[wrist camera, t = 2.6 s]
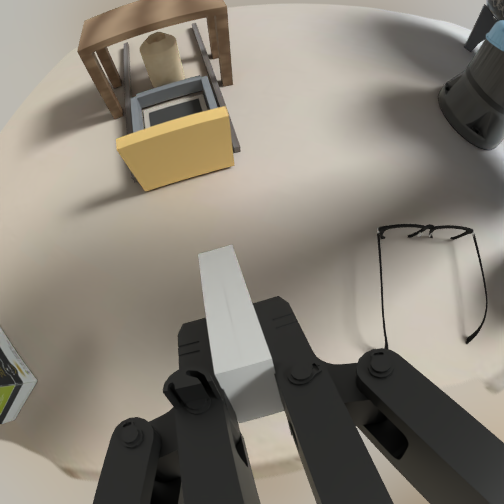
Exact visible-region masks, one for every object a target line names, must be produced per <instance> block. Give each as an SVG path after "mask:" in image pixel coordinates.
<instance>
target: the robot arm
mask: <svg viewBox="0 0 504 504" xmlns="http://www.w3.org/2000/svg"><path fill="white" fill-rule="evenodd" d="M439 104H440V107H441V109H442V111H443V113H444V115H445V117H446V118H447V120H448V121H449V122H450V124H451V125H452V126H453V127H454V129H455V130H456V131H457V132H458V133H459V134H460V135H461V136H463V137H464V138H465V139H466V140H468V141H469V142H470V143H472V144H474V145H475V146H477V147H479V148H482V149H486V150H491V149H494V148H496V147H497V146H498V145H499V144H500V143H501V142H502V140H503V139H504V20H500V21H497V22H496V23H495V24H494V26H493V27H492V29H491V30H490V32H488V33H487V34H486V39H485V41H484V42H483V44H482V45H481V47H480V48H479V50H478V52H477V53H476V55H475V56H474V58H473V59H472V61H471V62H470V64H469V65H468V67H467V69H466V70H465V71H464V72H462V73H461V74H459V75H458V76H456V77H455V78H453V79H452V80H450V81H448V82H447V83H446V84H445V85H444V86H443V88H442V90H441V91H440V93H439ZM198 257H199V266H200V274H201V283H202V291H203V298H204V306H205V313H206V318H203V319H200V320H196V321H192V322H188V323H185V324H183V325H182V327H181V329H180V331H179V334H178V347H179V348H178V354H179V370H177V371H176V372H174V373H173V374H172V375H171V376H169V378H168V379H167V381H166V382H165V384H164V388H163V393H164V394H165V396H166V397H167V398H168V400H169V401H170V402H171V404H172V405H173V406H174V407H173V408H172V409H171V410H170V411H169V412H167V413H166V414H164V415H162V416H160V417H158V418H156V419H154V420H152V421H150V422H147V421H146V420H145V419H142V418H138V417H135V418H129V419H126V420H124V421H122V422H121V423H120V424H119V425H118V426H117V427H116V428H115V430H114V432H113V434H112V437H111V440H110V444H109V447H108V450H107V454H106V457H105V460H104V464H103V468H102V471H101V475H100V478H99V482H98V486H97V490H96V493H95V497H94V501H93V504H260V500H259V496H258V493H257V489H256V485H255V481H254V478H253V474H252V470H251V466H250V462H249V458H248V454H247V450H246V446H245V442H244V438H243V436H242V434H241V432H240V430H239V425H238V422H239V423H242V422H246V421H250V420H254V419H257V418H261V417H265V416H268V415H271V414H275V413H278V412H282V411H285V413H286V416H287V420H288V423H289V427H290V431H291V435H292V436H293V438H294V441H295V444H296V447H297V450H298V453H299V455H300V458H301V461H302V464H303V467H304V470H305V472H306V475H307V478H308V481H309V483H310V486H311V489H312V492H313V495H314V497H315V500H316V503H317V504H393V502H392V499H391V498H390V495H389V493H388V491H387V489H386V487H385V485H384V483H383V481H382V479H381V477H380V475H379V473H378V471H377V469H376V467H375V465H374V463H373V461H372V458H371V456H370V455H369V453H368V450H367V448H366V446H365V444H364V442H363V440H362V438H361V436H360V434H359V432H358V430H357V428H356V426H357V427H358V428H359V429H360V430H361V431H362V432H363V434H364V435H365V436H366V437H367V438H368V439H369V440H370V441H371V442H372V443H373V444H374V445H375V447H376V448H377V449H378V450H379V451H380V452H381V453H382V454H383V455H384V456H385V457H386V458H387V459H388V460H389V461H390V463H391V464H392V465H393V466H394V467H395V468H396V469H397V470H398V471H399V472H400V473H401V474H402V475H403V476H404V477H405V478H406V479H407V480H408V481H409V482H410V483H411V484H412V485H413V487H414V488H416V490H417V491H418V492H419V493H420V494H421V495H422V496H423V497H424V498H425V499H426V500H427V501H428V502H429V503H430V504H504V443H503V442H502V441H501V440H499V439H498V438H497V437H496V436H495V435H494V434H492V433H491V432H490V431H489V430H488V429H486V427H484V426H483V425H482V424H481V423H480V422H478V421H477V420H476V419H475V418H474V417H473V416H471V415H470V414H469V413H468V412H467V411H466V410H464V409H463V408H462V407H461V406H460V405H458V404H457V403H456V402H455V401H454V400H452V399H451V398H450V397H449V396H448V395H446V394H445V393H444V392H443V391H442V390H441V389H439V388H438V387H437V386H436V385H435V384H433V383H432V382H431V381H430V380H429V379H427V378H426V377H425V376H424V375H423V374H421V373H420V372H419V371H418V370H417V369H415V368H414V367H413V366H412V365H411V364H409V363H408V362H407V361H406V360H405V359H403V358H402V357H401V356H400V355H399V354H397V353H395V352H393V351H392V350H388V349H383V348H381V349H373V350H371V351H369V352H366V353H365V354H364V355H363V356H362V357H361V358H360V359H359V361H358V363H351V364H330V363H326V362H324V361H322V360H320V359H319V358H318V357H316V355H315V354H314V352H313V351H312V349H311V347H310V345H309V343H308V341H307V339H306V337H305V335H304V333H303V331H302V329H301V327H300V325H299V323H298V321H297V319H296V317H295V315H294V313H293V311H292V309H291V307H290V305H289V303H288V302H286V301H285V300H284V299H282V298H281V297H279V296H277V297H274V298H270V299H267V300H264V301H260V302H257V303H253V304H252V301H251V298H250V295H249V292H248V289H247V286H246V283H245V280H244V277H243V275H242V272H241V269H240V266H239V263H238V260H237V257H236V254H235V251H234V248H233V245H228V246H225V247H221V248H218V249H214V250H211V251H207V252H204V253H200V254H198ZM237 420H238V421H237Z"/></svg>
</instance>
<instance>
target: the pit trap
mask: <svg viewBox="0 0 504 504" xmlns="http://www.w3.org/2000/svg"><path fill="white" fill-rule="evenodd" d="M207 110H208V109H207V106H206V103H205V99H204V96H203V94H200V95H196V96H193V97H189V98H185V99H182V100H178V101H175V102H171V103H168V104H165V105H161V106H158V107H155V108H152V109H149V110H146V111H143V113H144V121H145V129H146V128H149V127H152V126H155V125H158V124H161V123H165V122H168V121H171V120H174V119H178V118H181V117H185V116H188V115H192V114H196V113H199V112H203V111H207Z"/></svg>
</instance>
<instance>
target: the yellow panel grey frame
mask: <svg viewBox="0 0 504 504" xmlns="http://www.w3.org/2000/svg"><path fill="white" fill-rule="evenodd" d="M202 90H203V91H204V94H205V98H206V101H207V104H208V107H209V110H207V111H203V112H199V113H196V114H192V115H188V116H185V117H181V118H178V119H174V120H171V121H168V122H165V123H161V124H158V125H155V126H152V127H149V128H146V129H144V128H143V119H142V110H141V108H144V107H147V106H150V105H153V104H157V103H160V102H163V101H166V100H170V99H173V98H176V97H180V96H183V95H187V94H191V93H195V92H198V91H202ZM136 95H137V96H136V97H133V98H130V99H131V113H132V125H133V133H131V134H128V135H126V136H123V137H120V138H117V139H116V145H117V151H118V152H119V154H120V155H121V157H122V158H123V160H124V161H125V163H126V164H127V166H128V167H129V169H130V170H131V172H132V173H133V175H134V176H135V177H136V179H137V180H138V182H139V183H140V185H141V186H142V188H143V189H144V190H145V191H149V190H152V189H155V188H158V187H161V186H164V185H168V184H171V183H174V182H177V181H181V180H184V179H187V178H191V177H194V176H198V175H201V174H205V173H208V172H212V171H216V170H219V169H223V168H227V167H231V166H234V158H233V149H232V140H231V130H230V121H229V115H228V112H227V109H226V106H223V107H219V108H218V107H217V104H216V101H215V98H214V95H213V92H212V89H211V86H210V83H209V80H208V77H207V76H204V77H200V75H199V76H195V77H191V78H188V79H184V80H180V81H177V82H173V83H170V84H166V85H163V86H160V87H156V88H153V89H150V90H147V91H144V92H141V93H138V94H136Z"/></svg>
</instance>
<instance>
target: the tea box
mask: <svg viewBox="0 0 504 504" xmlns="http://www.w3.org/2000/svg"><path fill="white" fill-rule="evenodd" d="M36 383H37V380H36V378H35V377H34V376H33V374H32V373H31V372H30V370H29V369H28V368H27V366H26V365H25V364H24V362H23V361H22V359H21V358H20V356H19V355H18V353H17V352H16V351H15V349H14V348H13V346H12V344H11V343H10V341H9V340H8V338H7V337H6V335H5V334H4V332H3V330H2V329H1V327H0V424H3V423H7V422H10V421H13V420H15V418H16V417H17V415H18V413H19V411H20V410H21V408H22V406H23V405H24V403H25V401H26V400H27V398H28V396H29V395H30V393H31V391H32V390H33V388H34V386H35V385H36Z"/></svg>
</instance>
